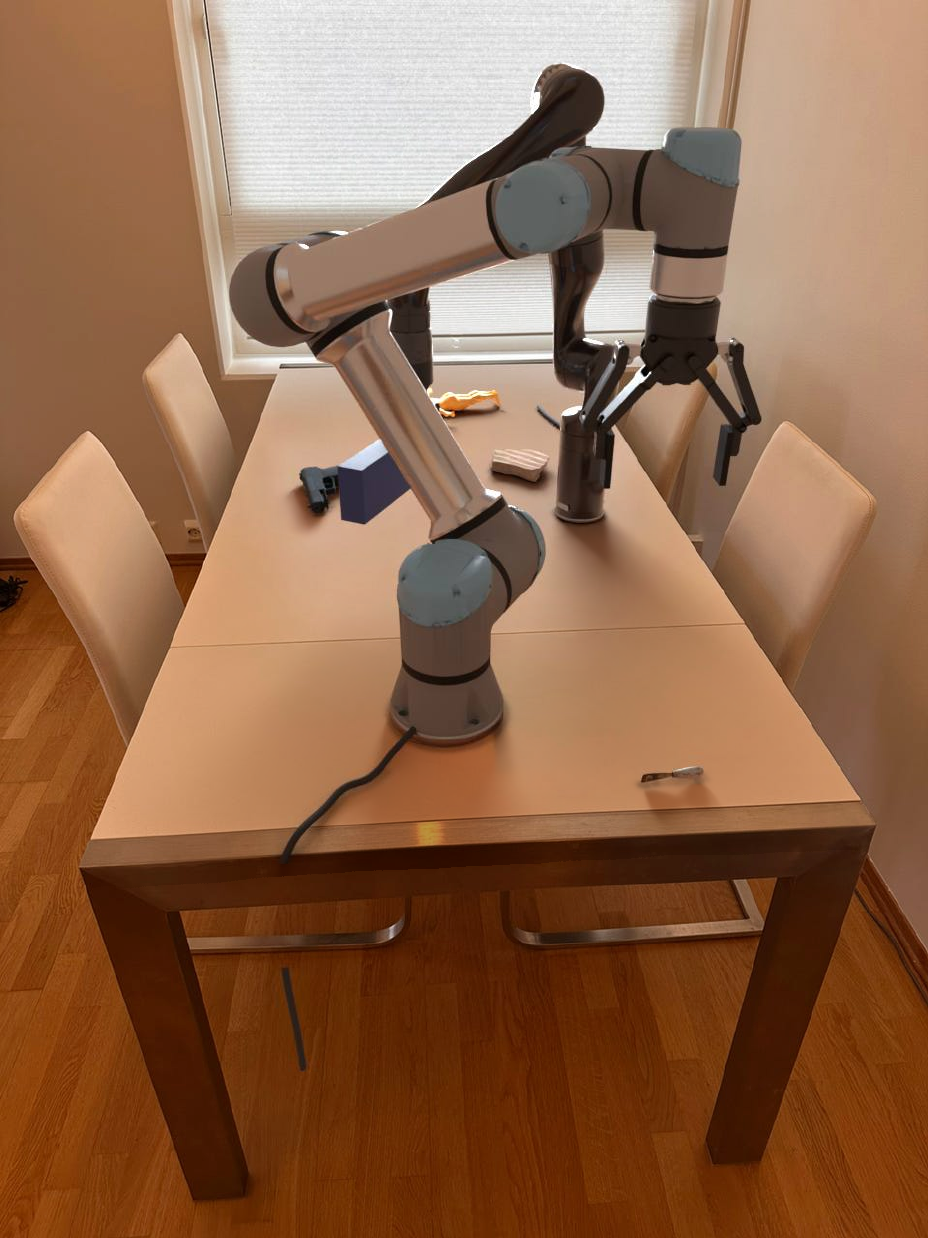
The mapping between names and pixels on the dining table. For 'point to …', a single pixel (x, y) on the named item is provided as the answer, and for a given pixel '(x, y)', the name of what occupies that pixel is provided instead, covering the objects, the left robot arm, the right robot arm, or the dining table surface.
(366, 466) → the bar
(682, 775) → the putty knife
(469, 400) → the human figure
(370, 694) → the dining table surface
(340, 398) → the dining table surface
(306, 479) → the handgun
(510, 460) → the stone
